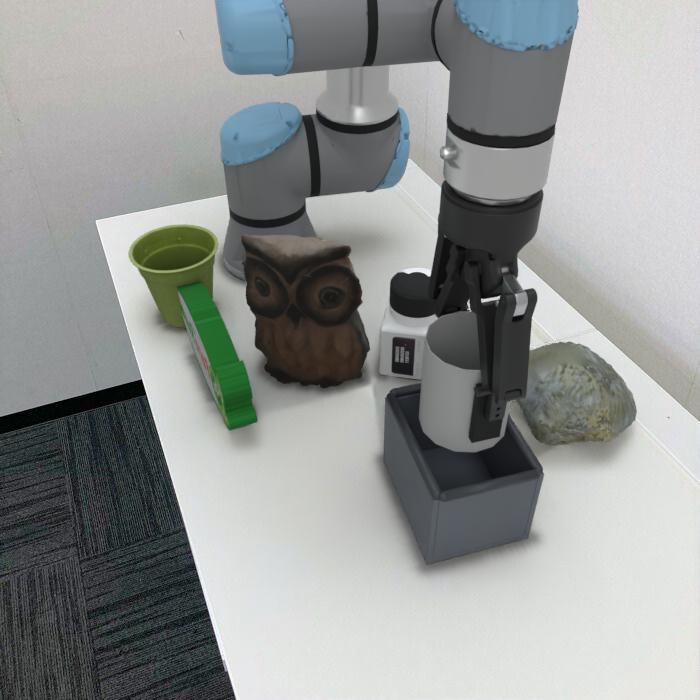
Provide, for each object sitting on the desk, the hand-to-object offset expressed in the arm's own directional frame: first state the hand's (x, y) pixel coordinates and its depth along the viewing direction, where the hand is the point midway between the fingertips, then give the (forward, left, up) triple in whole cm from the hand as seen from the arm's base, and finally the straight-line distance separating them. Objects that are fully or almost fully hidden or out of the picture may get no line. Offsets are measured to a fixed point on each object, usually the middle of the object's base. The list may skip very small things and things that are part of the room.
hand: (464, 402), depth 67 cm
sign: (-26, -22, -14) cm, 37 cm away
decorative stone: (-8, +18, -14) cm, 24 cm away
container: (-23, +4, -14) cm, 27 cm away
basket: (0, -5, -9) cm, 11 cm away
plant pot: (-41, -24, -14) cm, 50 cm away
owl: (-26, -8, -14) cm, 31 cm away
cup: (0, 0, -3) cm, 3 cm away
